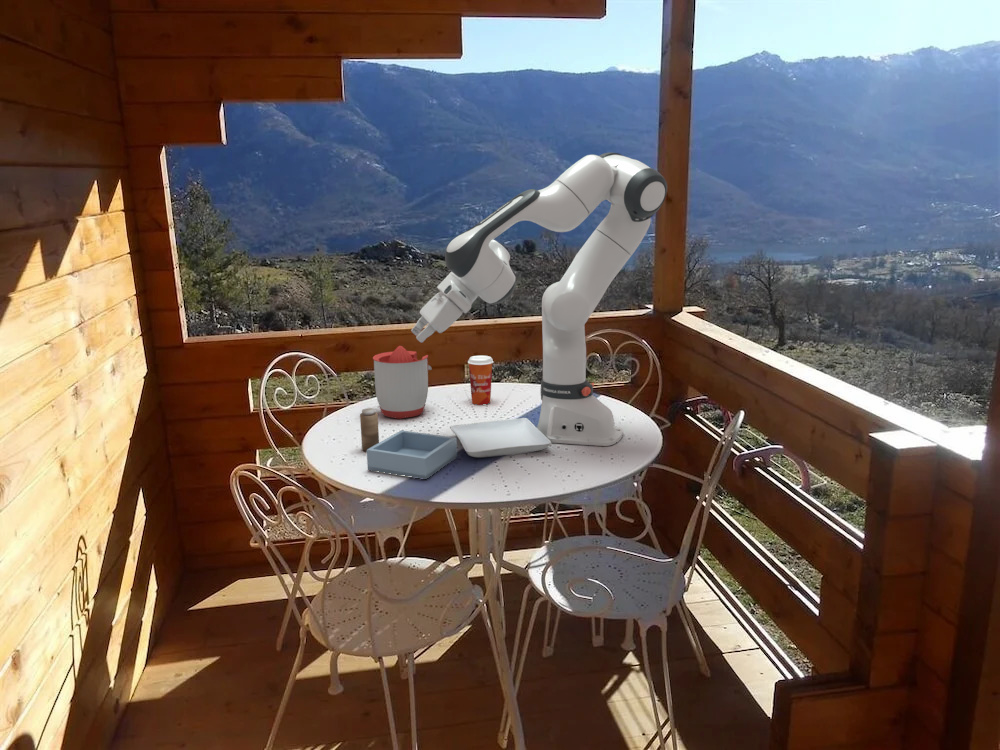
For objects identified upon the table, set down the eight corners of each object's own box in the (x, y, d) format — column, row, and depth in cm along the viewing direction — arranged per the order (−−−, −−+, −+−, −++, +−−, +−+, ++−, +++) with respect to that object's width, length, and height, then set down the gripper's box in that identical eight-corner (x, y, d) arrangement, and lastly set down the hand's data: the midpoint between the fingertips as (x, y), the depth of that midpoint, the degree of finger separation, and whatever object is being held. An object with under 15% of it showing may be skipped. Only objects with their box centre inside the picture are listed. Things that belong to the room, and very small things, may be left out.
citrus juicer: (445, 413, 197) (443, 345, 192) (393, 425, 186) (390, 353, 182) (416, 401, 209) (413, 337, 204) (365, 412, 198) (361, 345, 193)
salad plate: (467, 464, 158) (466, 450, 157) (449, 436, 178) (448, 424, 177) (553, 455, 163) (553, 442, 162) (526, 429, 183) (526, 417, 182)
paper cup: (467, 406, 204) (466, 360, 201) (469, 399, 211) (468, 355, 208) (493, 406, 204) (493, 360, 200) (494, 399, 211) (494, 355, 208)
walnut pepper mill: (382, 447, 169) (380, 408, 166) (373, 452, 165) (371, 413, 163) (368, 445, 170) (366, 406, 168) (358, 450, 167) (356, 411, 164)
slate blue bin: (456, 457, 161) (456, 437, 160) (426, 480, 148) (425, 458, 147) (402, 449, 167) (401, 430, 166) (367, 470, 154) (366, 449, 152)
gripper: (438, 281, 173) (401, 321, 173) (452, 290, 154) (411, 335, 154) (456, 298, 175) (419, 337, 175) (472, 309, 156) (431, 353, 156)
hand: (415, 336), depth 164 cm, fingers open, 8 cm apart
